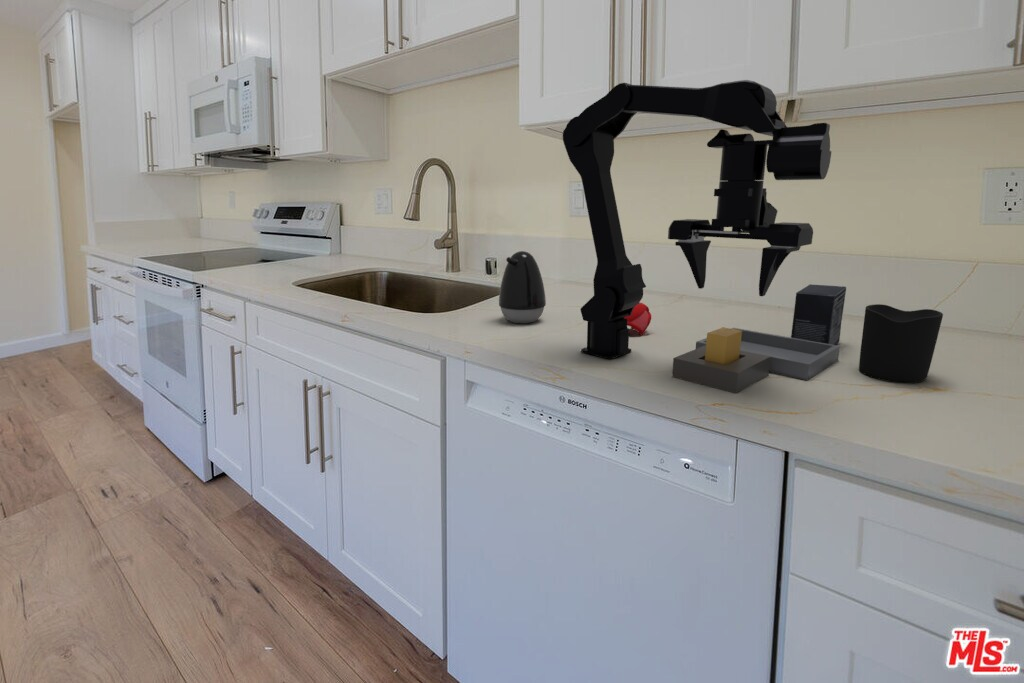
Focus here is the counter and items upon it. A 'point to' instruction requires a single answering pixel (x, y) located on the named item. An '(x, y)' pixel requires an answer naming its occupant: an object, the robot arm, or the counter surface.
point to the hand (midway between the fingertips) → (730, 291)
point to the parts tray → (788, 353)
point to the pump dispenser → (522, 289)
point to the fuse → (723, 345)
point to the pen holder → (898, 343)
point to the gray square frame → (721, 370)
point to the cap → (639, 318)
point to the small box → (819, 313)
